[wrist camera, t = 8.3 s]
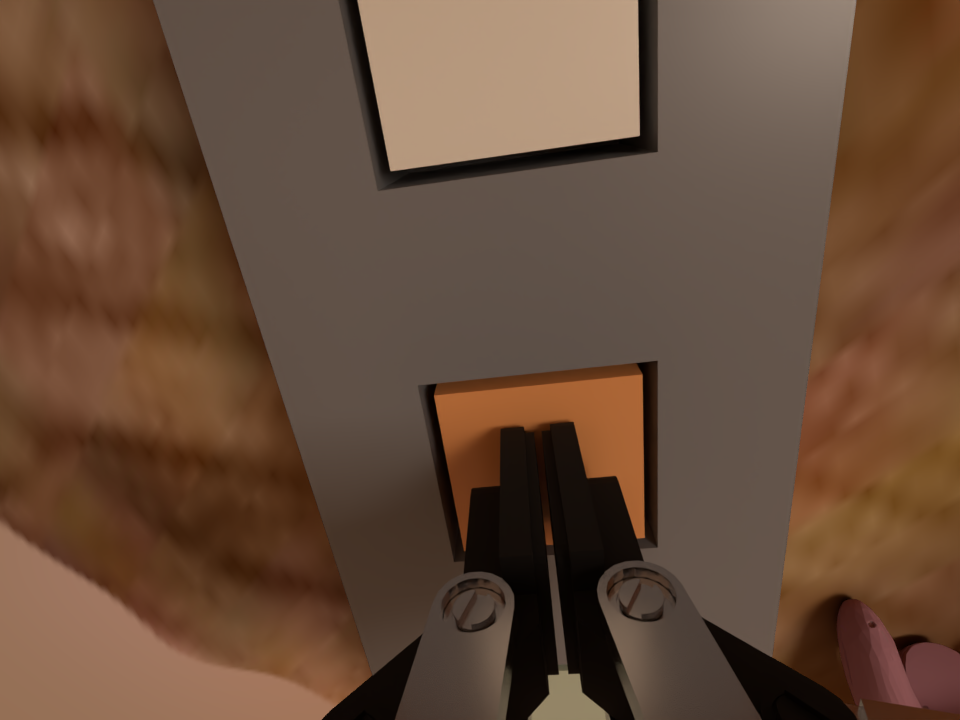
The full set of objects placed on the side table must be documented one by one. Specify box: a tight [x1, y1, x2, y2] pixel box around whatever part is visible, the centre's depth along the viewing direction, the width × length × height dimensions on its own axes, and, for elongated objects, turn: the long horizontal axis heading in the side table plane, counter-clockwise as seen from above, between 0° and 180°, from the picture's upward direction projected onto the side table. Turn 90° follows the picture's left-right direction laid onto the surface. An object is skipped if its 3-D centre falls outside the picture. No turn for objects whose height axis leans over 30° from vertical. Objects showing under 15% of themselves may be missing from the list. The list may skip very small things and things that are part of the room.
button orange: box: [434, 363, 645, 551], centre depth 13 cm, size 4×4×3 cm
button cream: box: [357, 0, 640, 171], centre depth 10 cm, size 4×4×3 cm
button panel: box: [153, 0, 856, 675], centre depth 14 cm, size 25×11×4 cm, turn 8°
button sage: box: [532, 664, 606, 720], centre depth 17 cm, size 4×4×3 cm
